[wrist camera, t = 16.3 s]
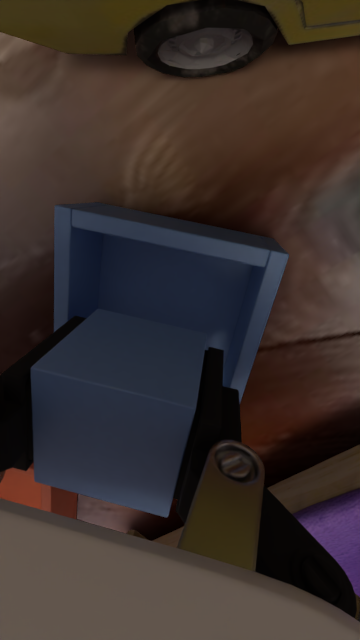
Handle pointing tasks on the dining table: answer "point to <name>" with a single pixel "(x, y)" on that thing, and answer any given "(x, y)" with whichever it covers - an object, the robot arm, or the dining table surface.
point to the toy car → (179, 28)
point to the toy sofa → (320, 509)
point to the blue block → (116, 409)
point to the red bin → (37, 493)
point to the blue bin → (168, 276)
